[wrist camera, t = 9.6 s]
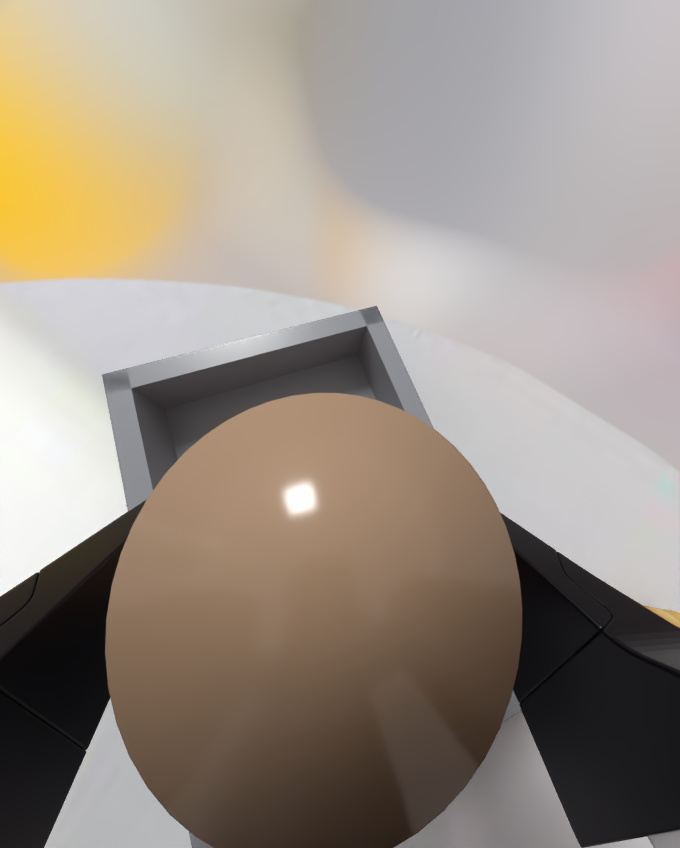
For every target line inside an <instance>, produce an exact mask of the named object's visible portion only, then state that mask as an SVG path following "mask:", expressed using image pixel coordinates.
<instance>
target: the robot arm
mask: <svg viewBox="0 0 680 848" xmlns="http://www.w3.org/2000/svg"><path fill="white" fill-rule="evenodd" d="M146 500H147V499H146ZM146 500H145V501H143V502H142V503H140V504H139V505H137V506H136V507H134V508H133V509H131V510H130V511H128V512H127V513H125V514H124V515H122V516H121V517H119V518H118V519H116V520H115V521H113V522H112V523H110V524H109V525H107V526H106V527H104V528H103V529H101V530H100V531H98V532H97V533H95V534H94V535H92V536H91V537H89V538H88V539H86V540H85V541H83V542H82V543H80V544H79V545H77V546H76V547H74V548H73V549H71V550H70V551H68V552H67V553H65V554H64V555H62V556H61V557H59V558H58V559H56V560H55V561H53V562H52V563H50V564H49V565H47V566H46V567H44V568H43V569H41V570H40V572H39V573H35V574H34V575H32V576H31V577H29V578H28V579H26V580H25V581H23V582H22V583H20V584H19V585H17V586H16V587H14V588H13V589H11V590H9V591H8V592H6V593H5V594H3V595H2V596H0V848H44V846H45V844H46V842H47V840H48V837H49V835H50V833H51V831H52V828H53V826H54V824H55V822H56V819H57V817H58V815H59V813H60V810H61V808H62V806H63V804H64V801H65V799H66V797H67V795H68V792H69V790H70V788H71V785H72V783H73V781H74V779H75V776H76V774H77V772H78V770H79V767H80V765H81V763H82V761H83V758H84V756H85V754H86V751H85V750H87V748H88V747H89V744H90V742H91V740H92V738H93V735H94V733H95V731H96V729H97V726H98V724H99V722H100V719H101V717H102V715H103V713H104V710H105V708H106V706H107V704H108V701H109V699H110V693H109V689H108V679H107V668H106V657H105V642H106V618H107V611H108V605H109V599H110V593H111V587H112V582H113V579H114V575H115V572H116V568H117V565H118V561H119V558H120V554H121V552H122V549H123V547H124V545H125V542H126V540H127V537H128V535H129V533H130V530H131V528H132V525H133V523H134V522H135V520H136V518H137V516H138V514H139V513H140V511H141V509H142V507H143V506H144V504H145V502H146ZM500 514H501V516H502V519H503V521H504V523H505V526H506V528H507V531H508V534H509V537H510V541H511V544H512V547H513V550H514V554H515V559H516V564H517V569H518V574H519V579H520V588H521V600H522V640H521V648H520V656H519V664H518V670H517V674H516V679H515V683H514V687H513V691H514V693H515V696H516V698H517V700H518V702H519V703H520V704H519V706H520V708H521V710H522V713H523V715H524V717H525V720H526V722H527V724H528V727H529V729H530V731H531V734H532V736H533V738H534V741H535V743H536V745H537V748H538V750H539V752H540V755H541V757H542V759H543V762H544V764H545V766H546V769H547V771H548V773H549V776H550V778H551V780H552V783H553V785H554V787H555V790H556V792H557V794H558V797H559V799H560V801H561V804H562V806H563V808H564V811H565V813H566V815H567V818H568V820H569V822H570V825H571V827H572V829H573V832H574V834H575V836H576V838H577V840H578V842H579V844H580V846H581V847H582V848H584V847H590V846H595V845H601V844H606V843H612V842H618V841H623V840H629V839H634V838H640V837H645V836H647V837H648V839H649V840H650V842H651V844H652V845H653V847H654V848H680V628H679V627H677V626H675V625H674V624H672V623H670V622H669V621H667V620H665V619H664V618H662V617H661V616H659V615H657V614H656V613H654V612H652V611H651V610H649V609H647V608H646V607H644V606H643V605H641V604H639V603H638V602H636V601H634V600H633V599H631V598H629V597H628V596H626V595H624V594H623V593H621V592H620V591H618V590H616V589H615V588H613V587H611V586H610V585H608V584H607V583H605V582H603V581H602V580H600V579H599V578H597V577H595V576H594V575H592V574H591V573H589V572H588V571H586V570H585V569H583V568H582V567H580V566H578V565H577V564H575V563H574V562H572V561H571V560H569V559H568V558H567V557H565V556H564V555H562V554H561V553H559V552H556V550H555V549H553V548H552V547H550V546H549V545H547V544H546V543H544V542H543V541H541V540H540V539H538V538H537V537H535V536H534V535H533V534H531V533H530V532H528V531H527V530H525V529H524V528H522V527H521V526H519V525H518V524H516V523H515V522H513V521H512V520H510V519H509V518H507V517H506V516H504V515H503V514H502V513H500Z"/></svg>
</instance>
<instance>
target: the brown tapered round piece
mask: <svg viewBox="0 0 680 848" xmlns="http://www.w3.org/2000/svg"><path fill="white" fill-rule="evenodd" d="M521 640H522V600H521V588H520V579H519V574H518V569H517V564H516V559H515V554H514V550H513V547H512V544H511V541H510V537H509V534H508V531H507V528H506V526H505V523H504V521H503V519H502V516H501V514H500V512H499V509H498V507H497V505H496V503H495V501H494V499H493V498H492V496H491V494H490V492H489V491H488V489H487V487H486V485H485V484H484V482H483V481H482V479H481V478H480V477H479V475H478V474H477V472H476V471H475V470H474V468H473V467H472V465H471V464H470V463H469V462H468V461H467V460H466V459H465V457H464V456H463V455H462V454H461V453H460V452H459V451H458V450H457V449H456V447H455V446H453V445H452V444H451V443H450V442H449V441H448V440H447V439H445V438H444V437H443V436H442V435H441V434H440V433H439V432H437V431H436V430H435V429H433V428H432V427H430V426H429V425H427V424H426V423H424V422H423V421H422V420H420V419H418V418H416V417H415V416H413V415H411V414H409V413H407V412H405V411H403V410H401V409H399V408H397V407H394V406H391V405H389V404H386V403H384V402H381V401H378V400H374V399H370V398H366V397H362V396H357V395H349V394H341V393H310V394H302V395H293V396H289V397H285V398H281V399H277V400H273V401H269V402H266V403H264V404H261V405H258V406H256V407H253V408H251V409H248V410H246V411H244V412H242V413H240V414H238V415H236V416H234V417H232V418H231V419H229V420H227V421H225V422H224V423H222V424H221V425H219V426H218V427H216V428H215V429H213V430H212V431H210V432H209V433H207V434H206V435H204V436H203V437H202V438H201V439H200V440H199V441H198V442H196V443H195V444H194V445H193V446H192V447H191V448H189V449H188V450H187V451H186V452H185V453H184V454H183V455H182V456H181V457H180V458H179V459H178V460H177V461H176V463H175V464H174V465H173V466H172V467H171V468H170V469H169V470H168V471H167V472H166V473H165V475H164V476H163V478H162V479H161V480H160V482H159V483H158V484H157V486H156V487H155V489H154V490H153V491H152V493H151V494H150V495H149V497H148V498H147V500H146V502H145V504H144V506H143V507H142V509H141V511H140V513H139V514H138V516H137V518H136V520H135V522H134V523H133V525H132V528H131V530H130V533H129V535H128V537H127V540H126V542H125V545H124V547H123V549H122V552H121V554H120V558H119V561H118V565H117V568H116V572H115V575H114V579H113V582H112V587H111V593H110V599H109V605H108V611H107V618H106V642H105V657H106V668H107V679H108V689H109V693H110V697H111V702H112V706H113V710H114V715H115V719H116V723H117V726H118V728H119V731H120V733H121V736H122V738H123V741H124V744H125V746H126V749H127V751H128V754H129V756H130V758H131V760H132V762H133V763H134V765H135V767H136V768H137V770H138V772H139V774H140V775H141V777H142V779H143V781H144V782H145V784H146V786H147V787H148V789H149V790H150V791H151V792H152V793H153V795H154V796H155V797H156V798H157V800H158V801H159V802H160V803H161V804H162V806H163V807H164V808H165V809H166V811H167V812H168V813H169V814H170V815H171V816H172V817H173V818H174V819H176V820H177V821H178V822H179V823H180V824H181V825H182V826H184V827H185V828H186V829H187V830H188V831H189V832H191V833H192V834H193V835H194V836H195V837H197V838H198V839H200V840H202V841H203V842H205V843H207V844H209V845H210V846H212V847H214V848H393V847H395V846H397V845H398V844H400V843H402V842H403V841H405V840H407V839H408V838H410V837H411V836H413V835H415V834H416V833H418V832H419V831H420V830H422V829H423V828H424V827H425V826H426V825H427V824H429V823H430V822H431V821H432V820H433V819H435V818H436V817H437V816H438V815H439V814H440V813H442V812H443V811H444V810H445V809H446V808H447V807H448V805H449V804H450V803H451V802H452V801H453V800H454V799H455V798H456V796H457V795H458V794H459V793H460V792H461V791H462V790H463V789H464V787H465V786H466V785H467V784H468V782H469V781H470V779H471V778H472V776H473V775H474V773H475V772H476V770H477V769H478V767H479V766H480V764H481V763H482V761H483V760H484V758H485V757H486V755H487V753H488V751H489V749H490V747H491V745H492V743H493V741H494V739H495V737H496V735H497V733H498V731H499V729H500V726H501V724H502V721H503V718H504V716H505V713H506V710H507V707H508V705H509V702H510V699H511V695H512V691H513V687H514V683H515V679H516V674H517V670H518V664H519V656H520V648H521Z"/></svg>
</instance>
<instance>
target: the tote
mask: <svg viewBox="0 0 680 848" xmlns="http://www.w3.org/2000/svg"><path fill="white" fill-rule="evenodd" d="M102 377H103V382H104V387H105V392H106V398H107V403H108V408H109V413H110V419H111V424H112V429H113V434H114V440H115V445H116V450H117V455H118V461H119V466H120V471H121V476H122V482H123V487H124V492H125V498H126V503H127V508H128V511H130V510H131V509H133V508H134V507H136V506H137V505H139V504H140V503H142V502H143V501H145V500H146V499H147V498H148V497H149V495H150V494H151V493H152V491H153V490H154V489H155V487H156V486H157V484H158V483H159V482H160V480H161V479H162V478H163V476H164V475H165V473H166V472H167V471H168V470H169V469H170V468H171V467H172V466H173V465H174V464H175V463H176V461H177V460H178V459H179V458H180V457H181V456H182V455H183V454H184V453H185V452H186V451H187V450H188V449H189V448H191V447H192V446H193V445H194V444H195V443H196V442H198V441H199V440H200V439H201V438H202V437H203V436H204V435H206V434H207V433H209V432H210V431H212V430H213V429H215V428H216V427H218V426H219V425H221V424H222V423H224V422H225V421H227V420H229V419H231V418H232V417H234V416H236V415H238V414H240V413H242V412H244V411H246V410H248V409H251V408H253V407H256V406H258V405H261V404H264V403H266V402H269V401H273V400H277V399H281V398H285V397H289V396H293V395H302V394H310V393H341V394H349V395H357V396H362V397H366V398H370V399H374V400H378V401H381V402H384V403H386V404H389V405H391V406H394V407H397V408H399V409H401V410H403V411H405V412H407V413H409V414H411V415H413V416H415V417H416V418H418V419H420V420H422V421H423V422H424V423H426V424H427V425H429V426H430V427H432V428H433V426H432V424H431V422H430V419H429V417H428V415H427V413H426V411H425V409H424V406H423V404H422V402H421V400H420V398H419V396H418V394H417V391H416V389H415V387H414V385H413V383H412V381H411V378H410V376H409V374H408V372H407V370H406V368H405V366H404V363H403V361H402V359H401V357H400V355H399V353H398V350H397V348H396V346H395V344H394V342H393V340H392V338H391V335H390V333H389V331H388V329H387V327H386V325H385V322H384V320H383V318H382V316H381V314H380V312H379V310H378V308H377V306H374V307H370V308H366V309H362V310H358V311H354V312H350V313H346V314H342V315H338V316H334V317H330V318H326V319H322V320H318V321H314V322H310V323H306V324H302V325H298V326H294V327H290V328H286V329H282V330H278V331H274V332H270V333H266V334H262V335H258V336H254V337H250V338H246V339H242V340H238V341H234V342H230V343H226V344H222V345H218V346H214V347H210V348H206V349H202V350H198V351H194V352H190V353H186V354H182V355H178V356H174V357H170V358H166V359H162V360H158V361H154V362H150V363H146V364H142V365H138V366H134V367H130V368H126V369H122V370H118V371H114V372H110V373H106V374H102ZM433 429H434V428H433ZM519 704H520V703H519V702H518V700H517V698H516V696H515V693H514V691H512V695H511V699H510V702H509V705H508V707H507V710H506V713H505V716H504V718H503V721H502V723H503V722H504V721H506V720H507V719H509V718H510V717H512V716H513V715H515V714H516V713H518V712H519V711H521V708H520V706H519ZM189 834H190V840H191V845H192V848H214V847H212V846H210V845H209V844H207V843H205V842H203V841H202V840H200V839H198V838H197V837H195V836H194V835H193V834H192V833H191V832H189Z"/></svg>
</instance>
